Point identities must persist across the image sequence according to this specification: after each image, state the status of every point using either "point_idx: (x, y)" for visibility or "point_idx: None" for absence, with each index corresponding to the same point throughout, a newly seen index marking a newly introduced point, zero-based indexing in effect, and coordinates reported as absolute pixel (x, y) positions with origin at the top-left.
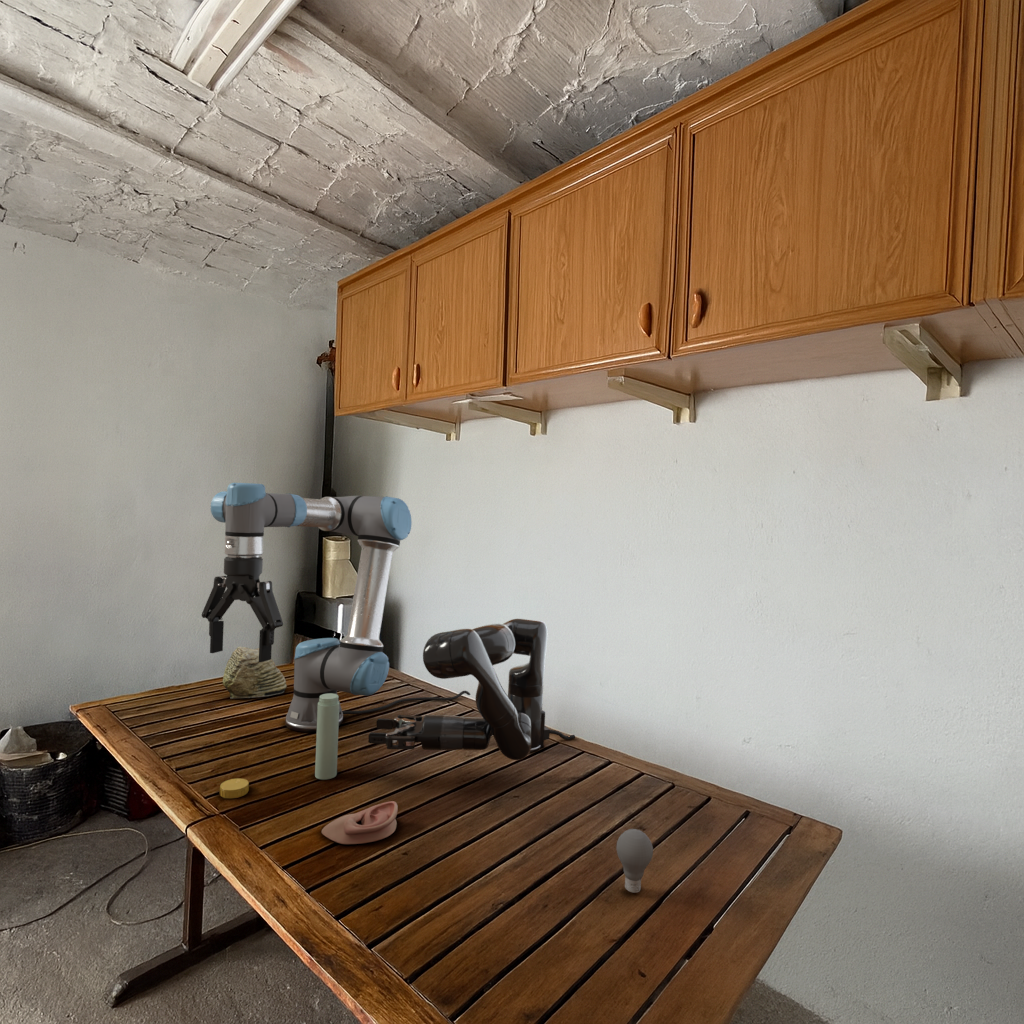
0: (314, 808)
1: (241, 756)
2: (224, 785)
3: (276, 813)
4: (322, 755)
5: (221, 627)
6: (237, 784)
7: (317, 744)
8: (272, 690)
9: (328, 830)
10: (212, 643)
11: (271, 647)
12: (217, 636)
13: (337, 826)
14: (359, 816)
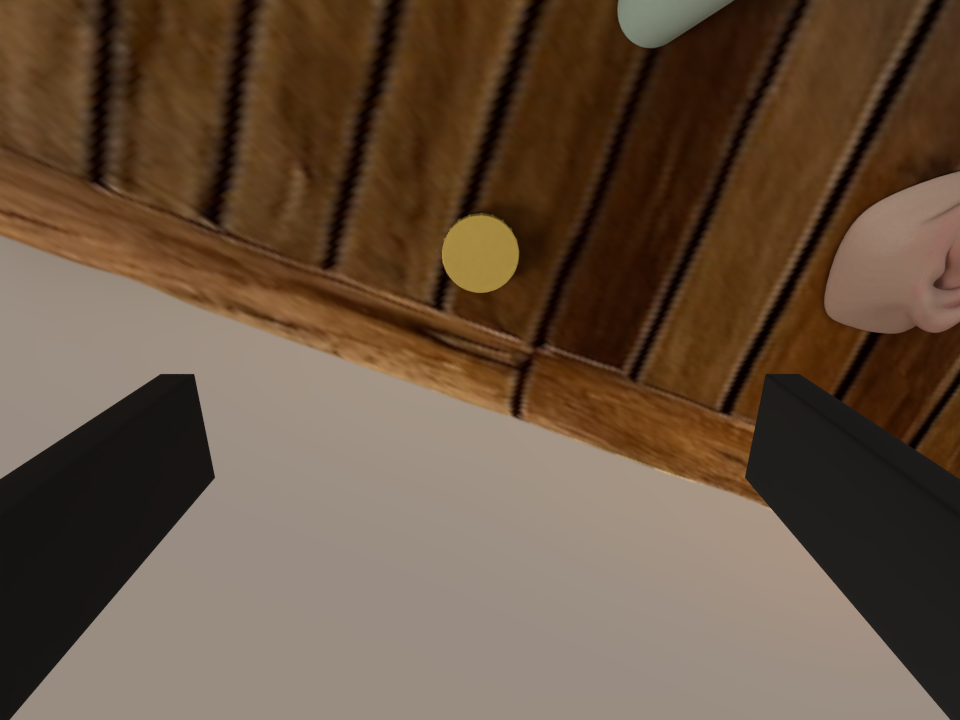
0: (742, 218)
1: (284, 29)
2: (462, 274)
3: (663, 286)
4: (691, 26)
5: (10, 554)
6: (489, 252)
7: (676, 13)
8: None
9: (854, 317)
10: (163, 536)
11: (878, 427)
12: (109, 526)
13: (881, 307)
14: (942, 269)
